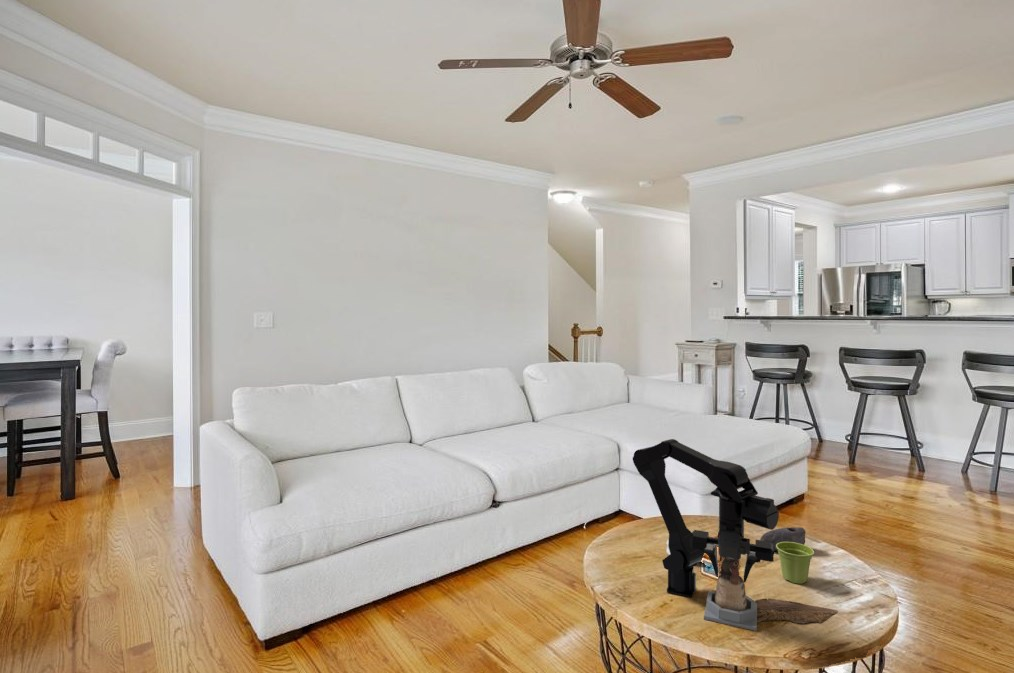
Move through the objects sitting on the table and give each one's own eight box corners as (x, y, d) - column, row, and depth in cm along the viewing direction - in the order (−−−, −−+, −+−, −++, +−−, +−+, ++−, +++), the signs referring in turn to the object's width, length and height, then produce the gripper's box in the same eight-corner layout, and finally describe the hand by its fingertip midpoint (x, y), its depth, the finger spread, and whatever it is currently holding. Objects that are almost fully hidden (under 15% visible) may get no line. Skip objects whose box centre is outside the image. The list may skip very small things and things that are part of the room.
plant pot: (771, 569, 153) (771, 540, 153) (807, 572, 151) (807, 542, 151) (781, 585, 144) (781, 554, 144) (819, 588, 142) (819, 556, 142)
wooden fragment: (740, 623, 127) (740, 618, 127) (725, 599, 138) (725, 595, 138) (852, 628, 124) (852, 623, 124) (828, 603, 135) (828, 599, 135)
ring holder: (703, 619, 128) (703, 606, 128) (708, 596, 138) (708, 585, 138) (756, 631, 123) (756, 618, 123) (757, 606, 133) (757, 595, 133)
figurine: (741, 599, 134) (742, 552, 133) (750, 614, 127) (751, 565, 126) (712, 596, 135) (712, 550, 134) (719, 612, 127) (720, 563, 127)
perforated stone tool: (764, 554, 164) (764, 531, 164) (755, 546, 169) (756, 525, 169) (811, 553, 164) (812, 531, 164) (802, 546, 169) (802, 524, 169)
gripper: (687, 521, 127) (687, 585, 127) (774, 535, 119) (773, 603, 119) (692, 507, 137) (692, 566, 137) (773, 518, 129) (772, 581, 129)
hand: (730, 579), depth 130 cm, fingers closed on figurine, 6 cm apart
